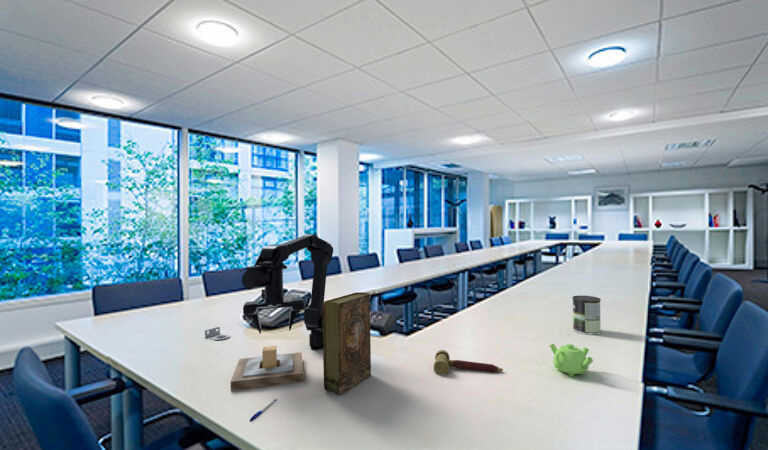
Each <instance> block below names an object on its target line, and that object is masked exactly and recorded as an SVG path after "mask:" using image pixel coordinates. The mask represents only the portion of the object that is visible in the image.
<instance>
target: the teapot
mask: <svg viewBox="0 0 768 450" xmlns="http://www.w3.org/2000/svg"><path fill="white" fill-rule="evenodd" d="M549 347H550V349H551V351H552V353H553V354H554V356H553V359H552V362H553V366H554V368H556V369H557V372H560V373H562V372H563V373H567V374H568V377H570V378H575V376H576V375H585V372H587V371H588V370H589V366H590V365H591V364H592V363H593V362H594V359H593V357H590V356H588V357H587V355H588V353H589V351H590V349H589V348H588V347H586V346H583V348H582V349H580V348H579V347H577V346H574V344H572V343H567V344H565V345H561V346H559V347H558V348H557V346H556V345H555V343H552V344H549Z"/></svg>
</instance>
